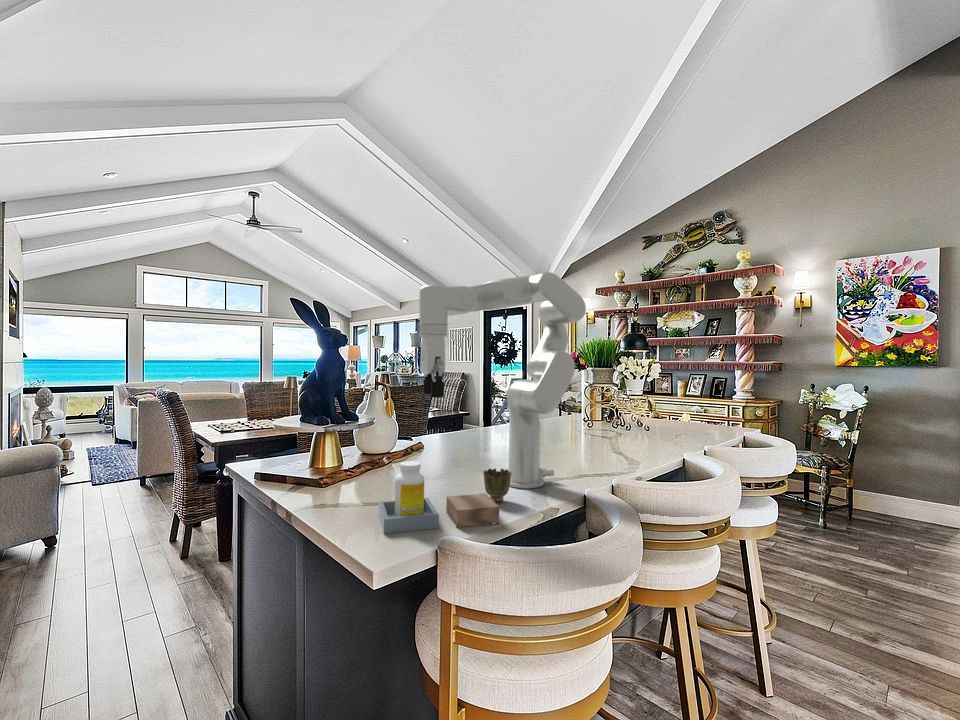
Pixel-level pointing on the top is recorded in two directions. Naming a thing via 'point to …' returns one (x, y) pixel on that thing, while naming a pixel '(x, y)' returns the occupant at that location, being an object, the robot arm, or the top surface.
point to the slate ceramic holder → (407, 518)
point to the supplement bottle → (409, 490)
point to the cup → (497, 483)
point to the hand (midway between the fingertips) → (433, 395)
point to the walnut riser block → (472, 510)
